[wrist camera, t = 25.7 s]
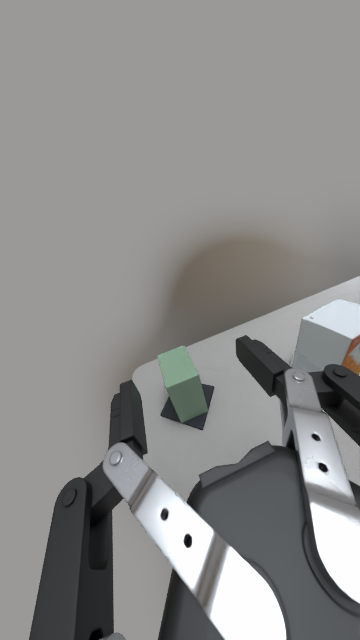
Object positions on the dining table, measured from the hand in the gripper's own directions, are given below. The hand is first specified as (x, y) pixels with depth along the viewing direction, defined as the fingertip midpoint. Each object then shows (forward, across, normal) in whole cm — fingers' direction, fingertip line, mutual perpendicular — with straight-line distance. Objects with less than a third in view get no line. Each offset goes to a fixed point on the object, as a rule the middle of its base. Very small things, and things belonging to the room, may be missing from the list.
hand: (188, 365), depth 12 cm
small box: (+5, +24, -21) cm, 32 cm away
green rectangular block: (+10, 0, -20) cm, 23 cm away
